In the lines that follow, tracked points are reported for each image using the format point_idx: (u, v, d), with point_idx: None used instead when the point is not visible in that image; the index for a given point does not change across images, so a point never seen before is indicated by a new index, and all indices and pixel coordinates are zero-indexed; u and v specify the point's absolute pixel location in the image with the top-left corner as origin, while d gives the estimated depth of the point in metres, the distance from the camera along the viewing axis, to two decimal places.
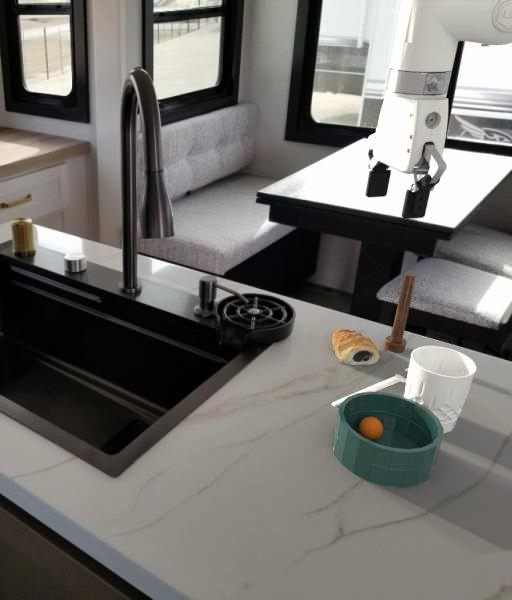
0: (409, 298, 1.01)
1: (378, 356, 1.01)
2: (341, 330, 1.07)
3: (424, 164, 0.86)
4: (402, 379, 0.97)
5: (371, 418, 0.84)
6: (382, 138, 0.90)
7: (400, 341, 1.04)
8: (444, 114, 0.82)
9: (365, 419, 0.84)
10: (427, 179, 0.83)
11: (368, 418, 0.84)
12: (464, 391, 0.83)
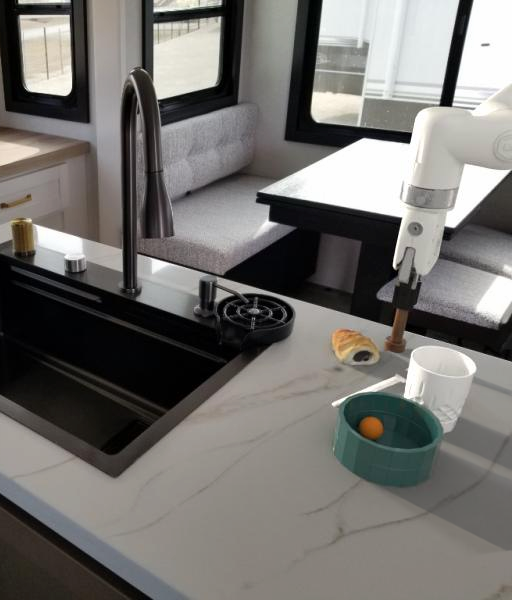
0: None
1: (378, 356, 1.01)
2: (341, 330, 1.07)
3: None
4: (402, 379, 0.97)
5: (371, 418, 0.84)
6: None
7: (400, 341, 1.04)
8: (428, 227, 0.91)
9: (365, 419, 0.84)
10: (399, 277, 0.97)
11: (368, 418, 0.84)
12: (464, 391, 0.83)
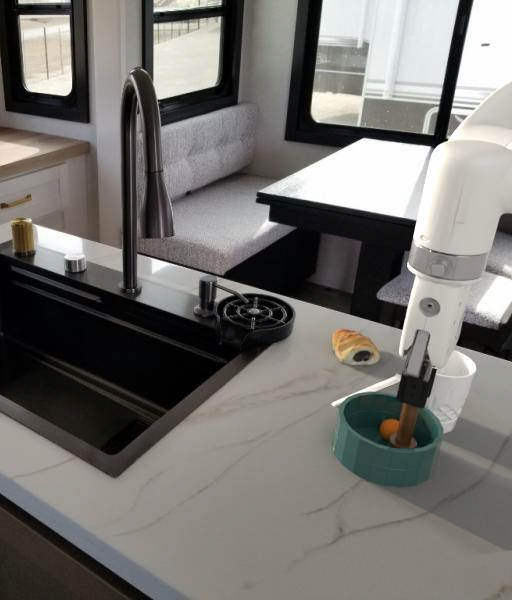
0: None
1: (378, 356, 1.01)
2: (341, 330, 1.07)
3: None
4: None
5: (389, 422, 0.84)
6: None
7: (408, 443, 0.79)
8: (447, 305, 0.66)
9: (389, 427, 0.83)
10: (407, 367, 0.72)
11: (389, 424, 0.83)
12: (464, 391, 0.83)
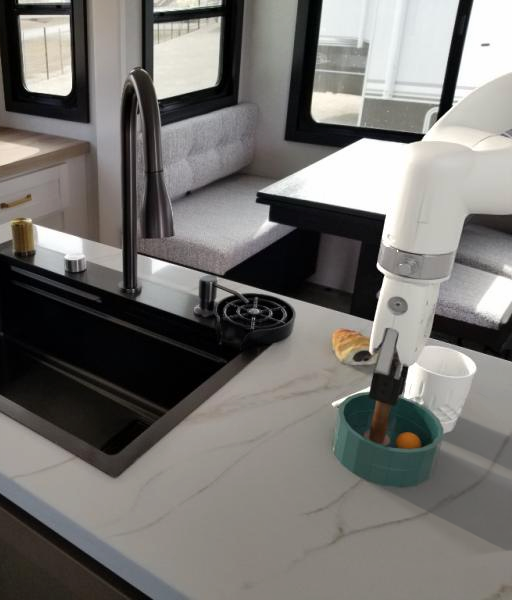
0: None
1: None
2: (341, 330, 1.07)
3: None
4: None
5: None
6: None
7: (381, 440, 0.80)
8: (415, 304, 0.67)
9: None
10: None
11: None
12: (464, 391, 0.83)
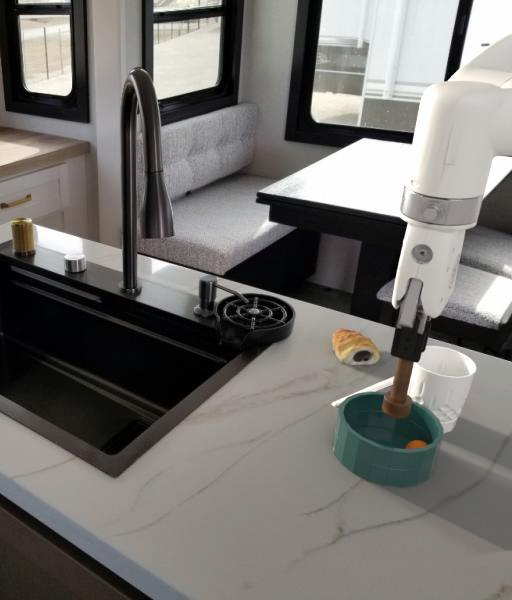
0: None
1: (378, 356, 1.01)
2: (341, 330, 1.07)
3: None
4: None
5: None
6: None
7: (403, 400, 0.78)
8: (440, 251, 0.65)
9: None
10: None
11: None
12: (464, 391, 0.83)
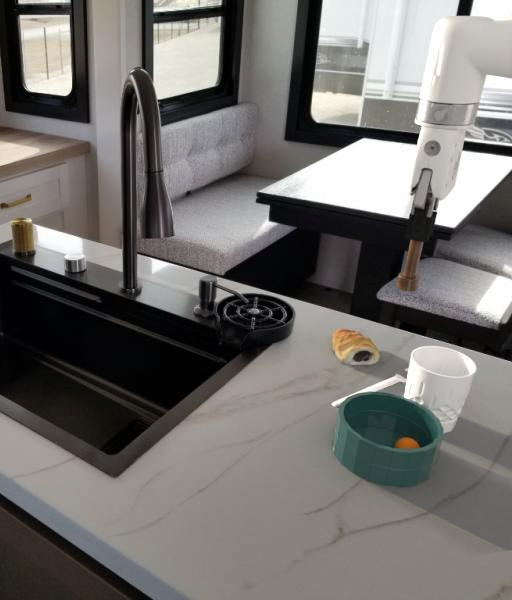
0: None
1: (378, 356, 1.01)
2: (341, 330, 1.07)
3: None
4: (402, 379, 0.97)
5: None
6: None
7: (413, 276, 0.99)
8: (446, 145, 0.86)
9: None
10: None
11: None
12: (464, 391, 0.83)
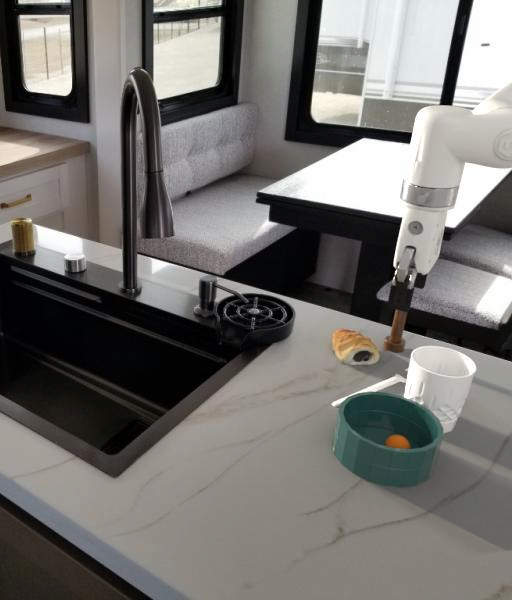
0: None
1: (378, 356, 1.01)
2: (341, 330, 1.07)
3: (416, 265, 0.95)
4: (402, 379, 0.97)
5: None
6: None
7: (398, 341, 1.04)
8: (428, 225, 0.91)
9: None
10: (395, 277, 0.94)
11: None
12: (464, 391, 0.83)
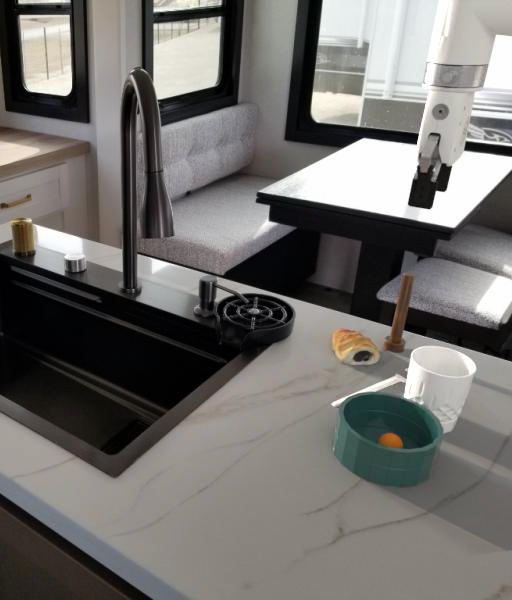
0: (407, 298, 1.01)
1: (378, 356, 1.01)
2: (341, 330, 1.07)
3: (440, 156, 0.88)
4: (402, 379, 0.97)
5: (401, 446, 0.81)
6: None
7: (398, 341, 1.04)
8: (455, 108, 0.84)
9: None
10: (417, 167, 0.86)
11: None
12: (464, 391, 0.83)
